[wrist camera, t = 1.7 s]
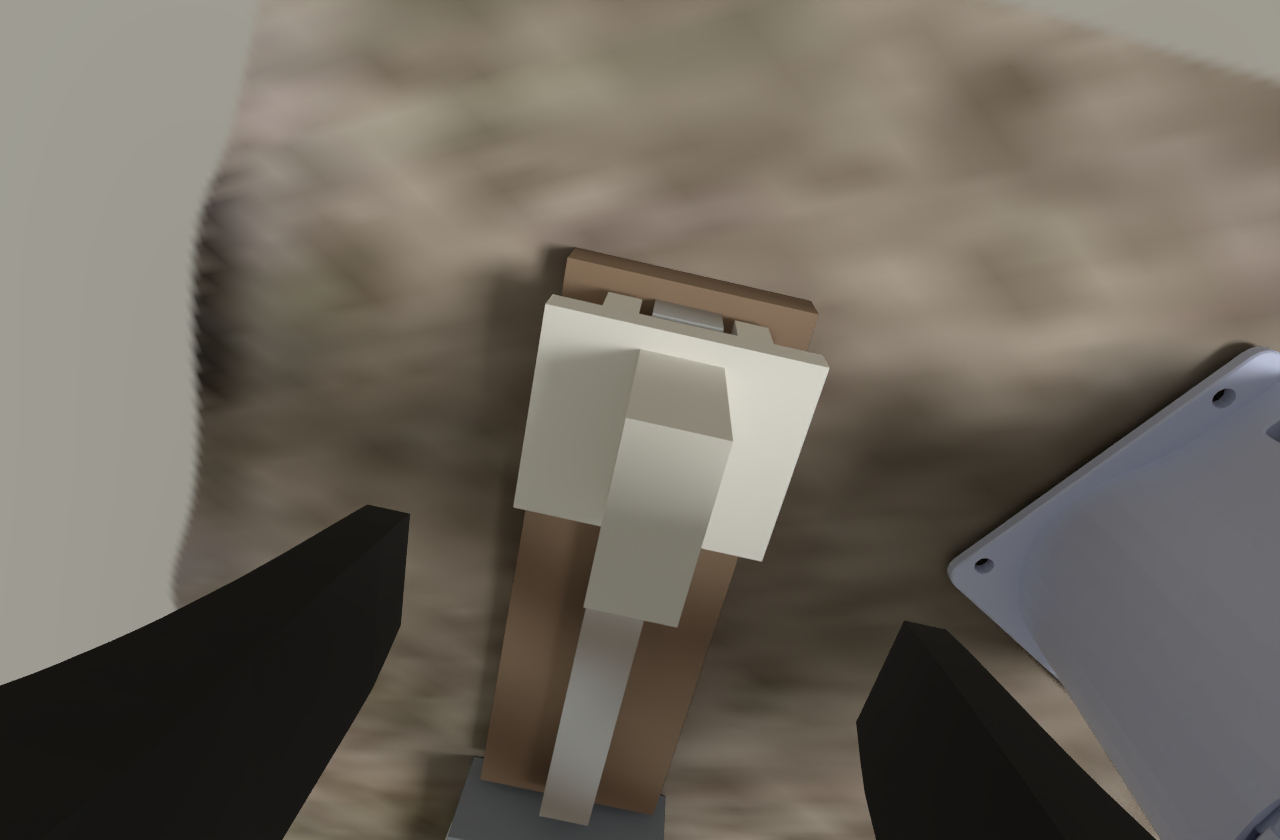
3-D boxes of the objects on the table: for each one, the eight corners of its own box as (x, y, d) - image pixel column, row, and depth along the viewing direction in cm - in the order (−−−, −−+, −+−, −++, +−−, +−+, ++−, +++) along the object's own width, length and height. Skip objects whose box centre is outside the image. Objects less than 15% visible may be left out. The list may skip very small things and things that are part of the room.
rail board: (575, 247, 17) (558, 268, 15) (811, 301, 17) (827, 330, 15) (489, 749, 25) (469, 811, 23) (654, 784, 25) (651, 849, 23)
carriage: (562, 281, 16) (503, 361, 11) (814, 338, 16) (867, 442, 11) (530, 466, 18) (470, 604, 13) (755, 516, 18) (778, 670, 13)
